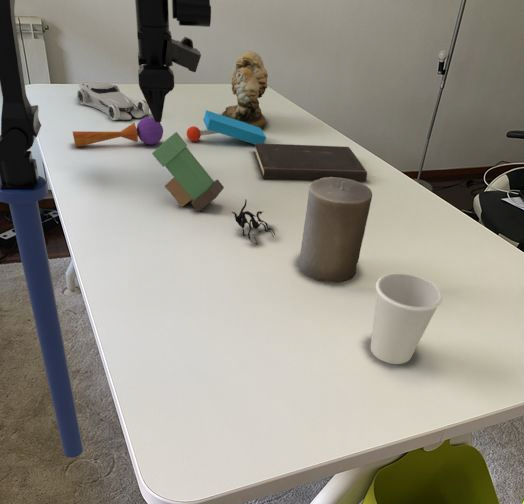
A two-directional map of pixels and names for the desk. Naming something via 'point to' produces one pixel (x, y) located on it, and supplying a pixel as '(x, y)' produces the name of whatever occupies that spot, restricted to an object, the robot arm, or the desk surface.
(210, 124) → the lever
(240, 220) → the creature
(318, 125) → the desk surface
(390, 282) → the dixie cup
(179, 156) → the green block pillar
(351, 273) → the pillar candle
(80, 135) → the kendama
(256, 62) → the brown mottled upright lump
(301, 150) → the hardcover book
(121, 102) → the car model
